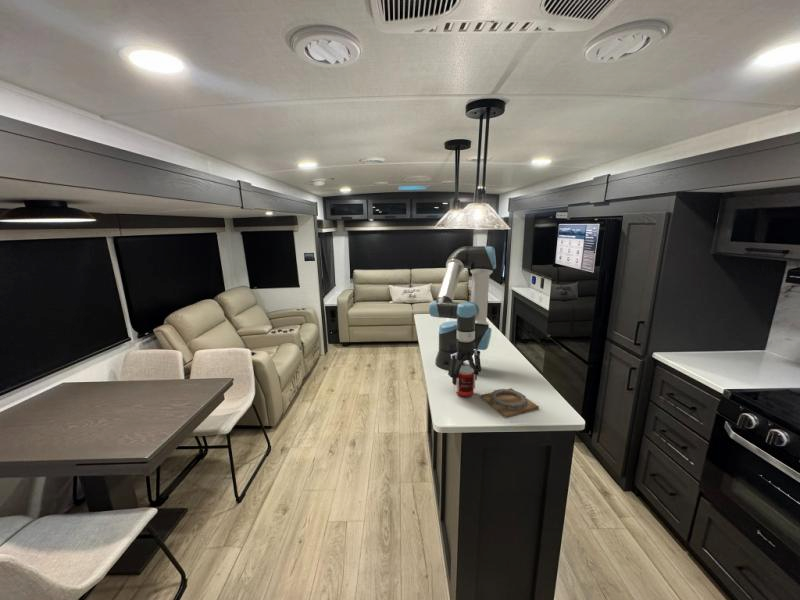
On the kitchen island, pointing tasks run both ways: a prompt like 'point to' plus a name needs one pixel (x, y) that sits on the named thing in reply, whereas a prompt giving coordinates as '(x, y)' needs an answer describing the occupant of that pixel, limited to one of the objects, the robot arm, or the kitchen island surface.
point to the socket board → (509, 402)
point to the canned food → (466, 381)
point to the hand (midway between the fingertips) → (464, 388)
